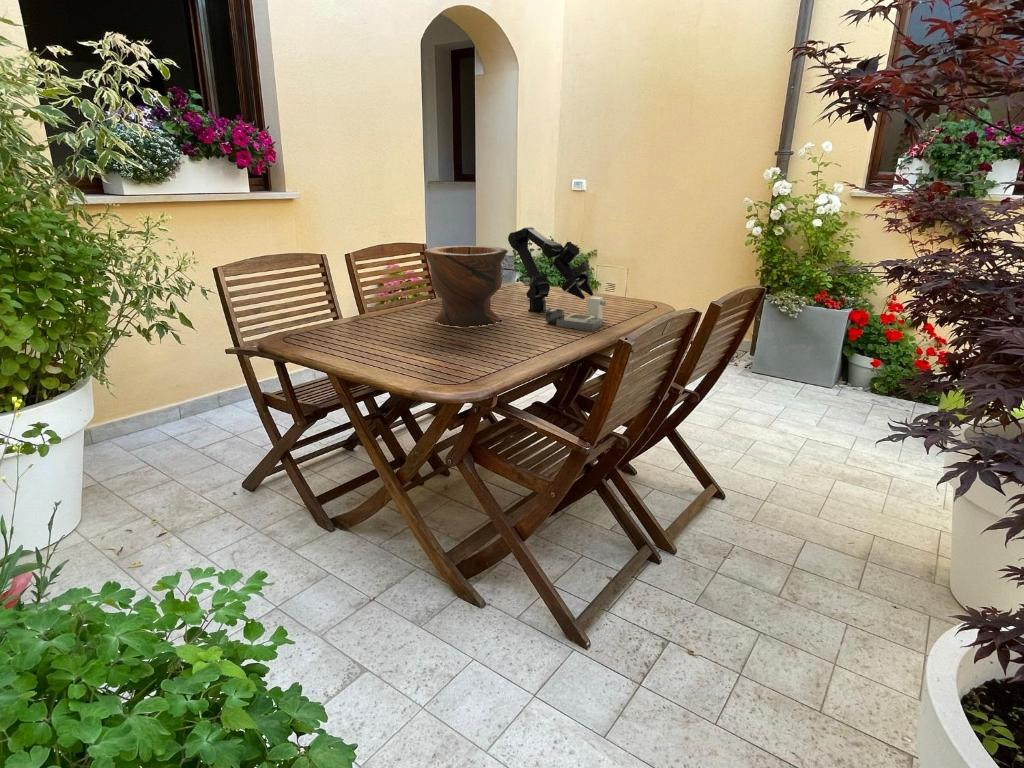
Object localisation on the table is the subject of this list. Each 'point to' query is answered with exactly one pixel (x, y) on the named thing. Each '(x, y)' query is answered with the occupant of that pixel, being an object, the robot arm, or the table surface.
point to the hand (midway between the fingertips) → (588, 296)
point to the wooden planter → (466, 283)
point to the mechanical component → (525, 281)
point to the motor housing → (572, 320)
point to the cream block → (595, 306)
